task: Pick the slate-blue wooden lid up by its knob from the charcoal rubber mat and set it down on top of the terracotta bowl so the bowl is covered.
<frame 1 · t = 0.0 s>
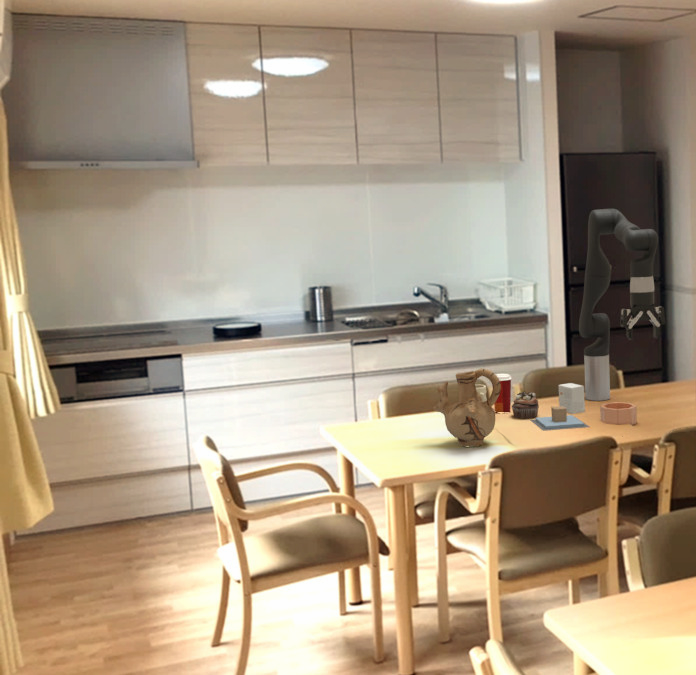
hand: (643, 338, 285), 29 cm above the table, fingers open, 8 cm apart
paper cup: (502, 412, 321), on the table
mat: (559, 426, 294), on the table
ceramic vessel: (469, 444, 279), on the table
bowl: (618, 423, 293), on the table
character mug: (477, 422, 308), on the table
lid: (559, 423, 294), point 1 cm above the table, touching mat
cupcake: (525, 419, 307), on the table
small box: (572, 414, 311), on the table
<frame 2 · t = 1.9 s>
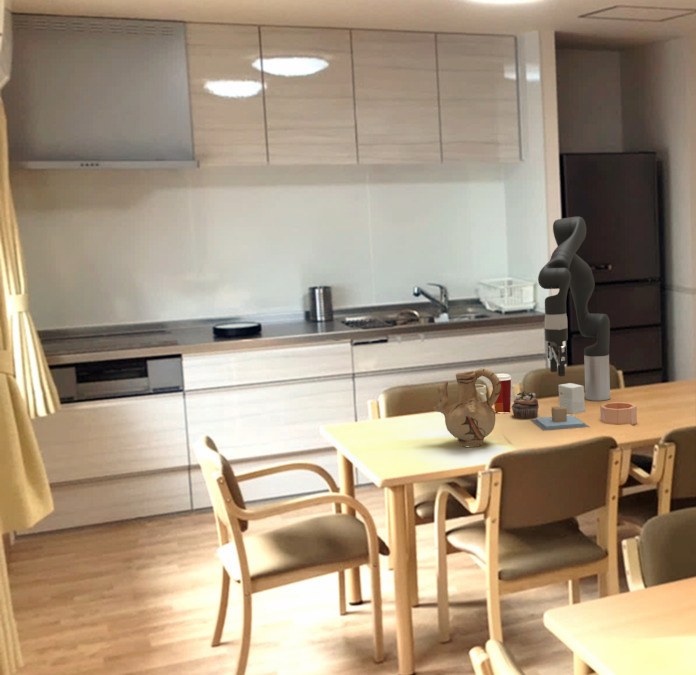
hand: (557, 374, 292), 18 cm above the table, fingers open, 8 cm apart
nothing on the table moved.
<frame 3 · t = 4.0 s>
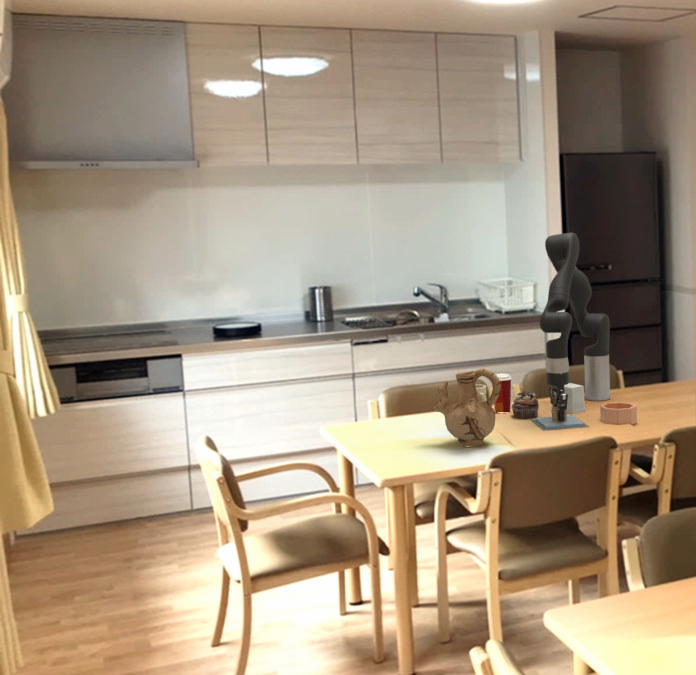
hand: (559, 419, 294), 2 cm above the table, fingers closed on lid, 4 cm apart
lid: (559, 423, 294), point 1 cm above the table, touching gripper, mat
everything else where it was.
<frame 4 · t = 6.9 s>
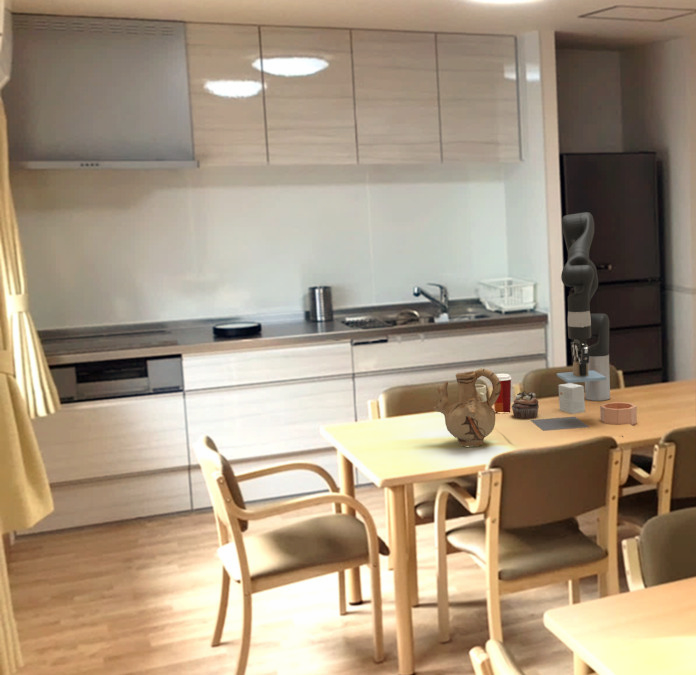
hand: (581, 373, 292), 18 cm above the table, fingers closed on lid, 4 cm apart
lid: (580, 378, 292), point 16 cm above the table, touching gripper
everything else where it was.
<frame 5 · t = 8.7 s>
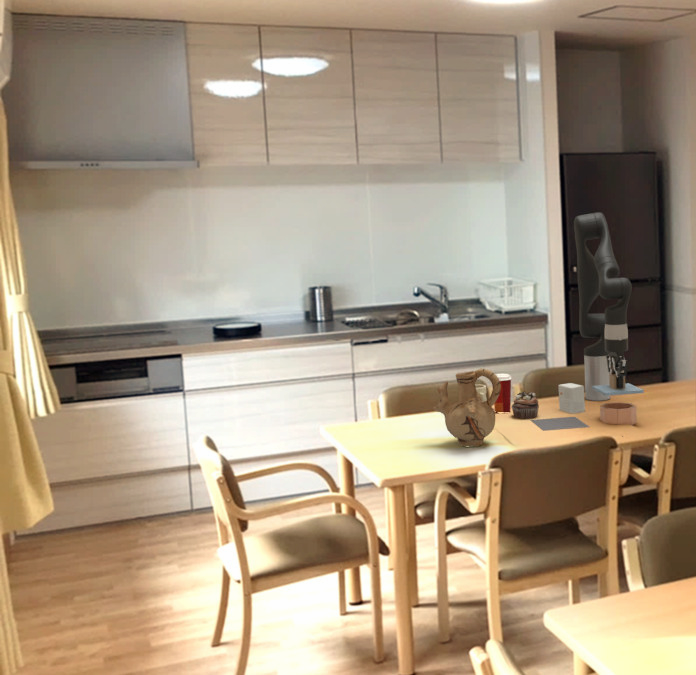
hand: (617, 386, 291), 13 cm above the table, fingers closed on lid, 4 cm apart
lid: (617, 390, 292), point 11 cm above the table, touching gripper
everything else where it was.
when the fingers open (9 cm above the table, at t = 10.1 s): lid drops 2 cm, resting on bowl.
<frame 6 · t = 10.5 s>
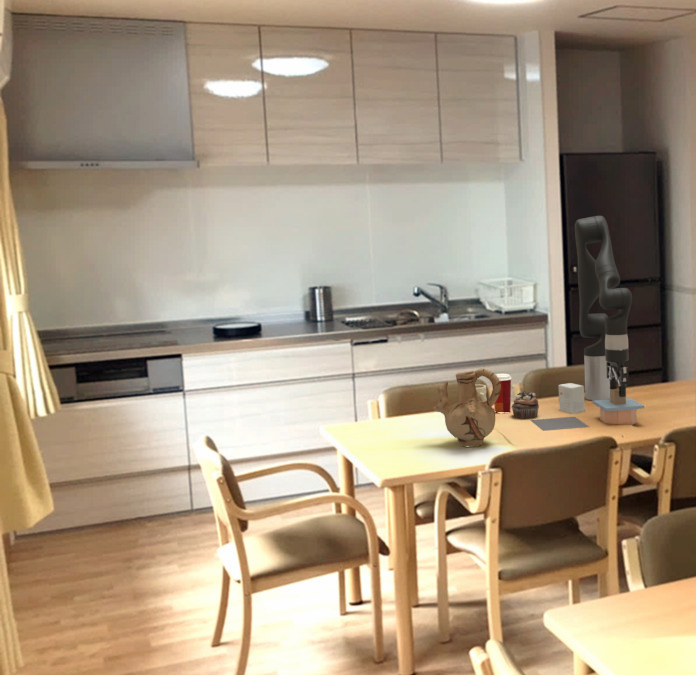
hand: (617, 394, 292), 10 cm above the table, fingers open, 8 cm apart
lid: (618, 405, 292), point 6 cm above the table, touching bowl
everything else where it was.
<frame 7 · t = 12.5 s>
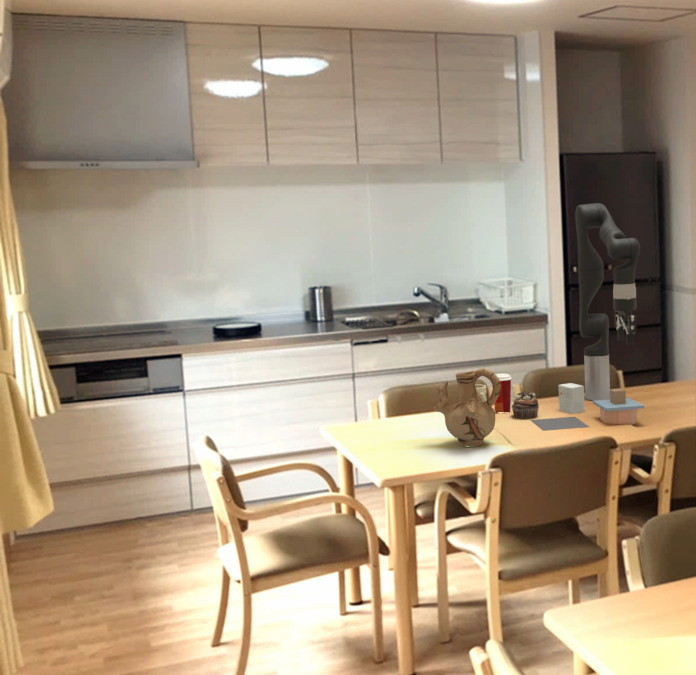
hand: (625, 342, 298), 26 cm above the table, fingers open, 8 cm apart
nothing on the table moved.
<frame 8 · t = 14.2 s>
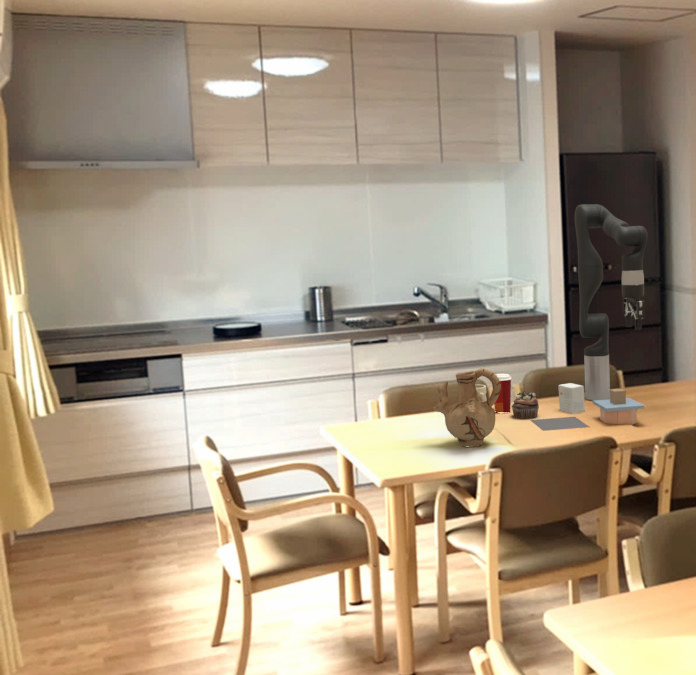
hand: (633, 328, 305), 30 cm above the table, fingers open, 8 cm apart
nothing on the table moved.
at the end: lid 0.1 cm off-centre on the bowl, point 6.0 cm above the bowl's base; lid tilted 0°; the gripper is holding nothing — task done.
